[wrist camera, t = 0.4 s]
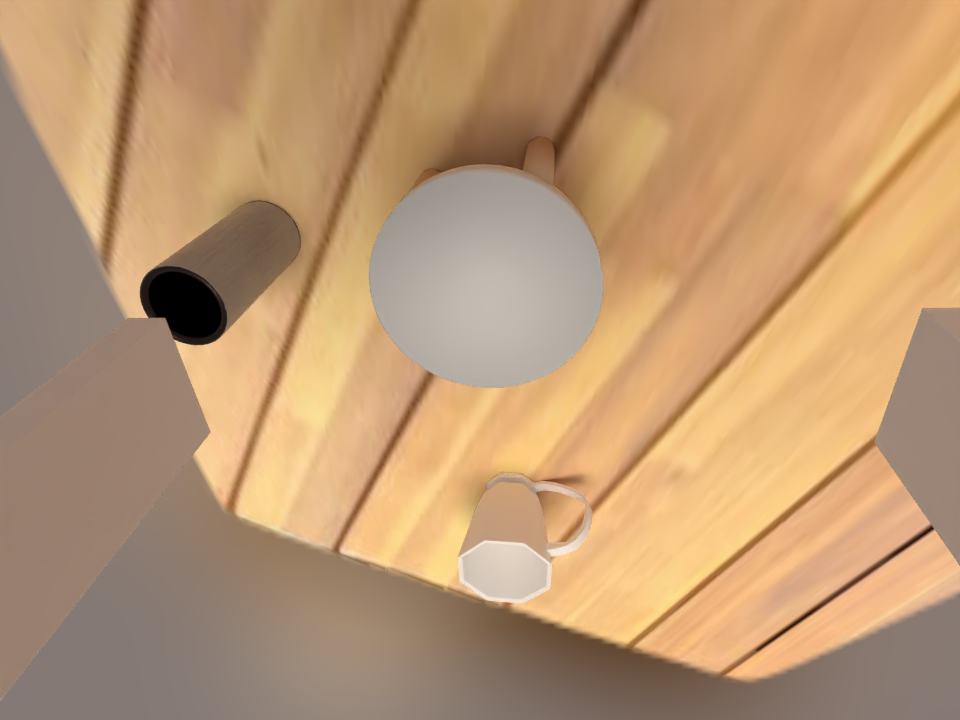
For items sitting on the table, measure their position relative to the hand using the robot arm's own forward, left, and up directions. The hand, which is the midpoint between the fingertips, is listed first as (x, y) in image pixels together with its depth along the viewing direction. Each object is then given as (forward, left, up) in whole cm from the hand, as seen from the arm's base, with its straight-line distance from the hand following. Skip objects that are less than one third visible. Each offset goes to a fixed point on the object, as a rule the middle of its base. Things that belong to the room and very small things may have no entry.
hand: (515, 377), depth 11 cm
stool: (+5, -4, -26) cm, 27 cm away
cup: (+27, -8, -26) cm, 39 cm away
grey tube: (+2, -19, -26) cm, 32 cm away
